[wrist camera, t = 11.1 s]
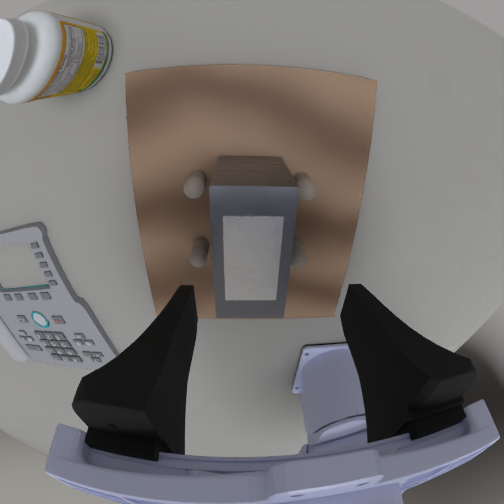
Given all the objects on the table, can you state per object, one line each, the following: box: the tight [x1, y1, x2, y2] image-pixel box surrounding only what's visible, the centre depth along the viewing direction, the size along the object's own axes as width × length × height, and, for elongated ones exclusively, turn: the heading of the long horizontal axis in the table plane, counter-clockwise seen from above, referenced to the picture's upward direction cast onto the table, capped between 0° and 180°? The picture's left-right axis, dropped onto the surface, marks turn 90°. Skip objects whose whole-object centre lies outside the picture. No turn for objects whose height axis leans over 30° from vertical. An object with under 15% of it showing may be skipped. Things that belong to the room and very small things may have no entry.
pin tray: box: [126, 65, 377, 319], centre depth 19 cm, size 20×16×3 cm
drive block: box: [209, 156, 299, 318], centre depth 17 cm, size 8×4×6 cm, turn 178°
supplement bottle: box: [0, 11, 112, 104], centre depth 10 cm, size 5×5×10 cm
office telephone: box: [0, 222, 119, 369], centre depth 25 cm, size 23×3×20 cm
